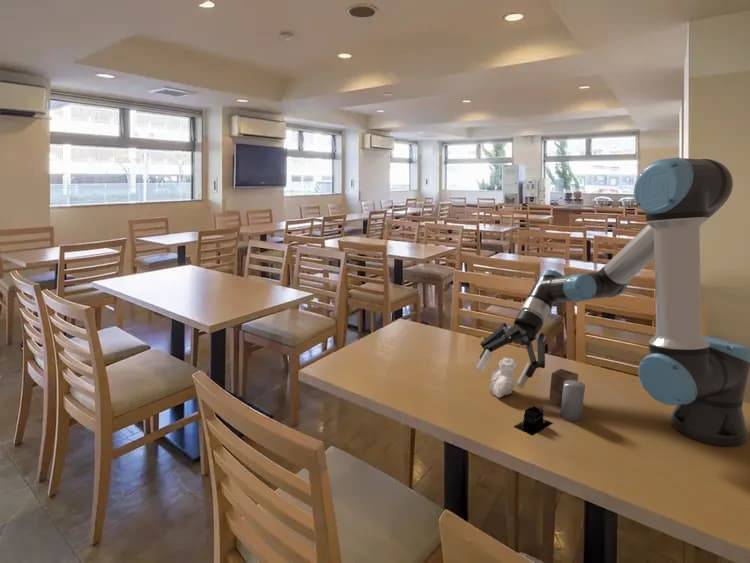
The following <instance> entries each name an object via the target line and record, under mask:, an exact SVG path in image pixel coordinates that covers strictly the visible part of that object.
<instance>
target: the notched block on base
mask: <svg viewBox="0 0 750 563" xmlns="http://www.w3.org/2000/svg"><path fill="white" fill-rule="evenodd" d="M544 415H545V414H544V410H543V409H541V408H540V407H536V406H534V405H532V406H531V407H530V406H529V407H528V408H527V409H525V410H524V414H523V420H522V421H523V422H522V421H521V422H519V423H516V425H514V426H513V428H515V429H517V430H519V431H522V432H523V433H525V432H526V433H525V434H528V435H530V436H535V435H537V434H538V433H540V432H541V431H543V430H544V428H545V427H546V428H548V427H550V426H551V425H554V422H551V421H550V420H547V419H545V418H544ZM546 428H545V429H546Z"/></svg>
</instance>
